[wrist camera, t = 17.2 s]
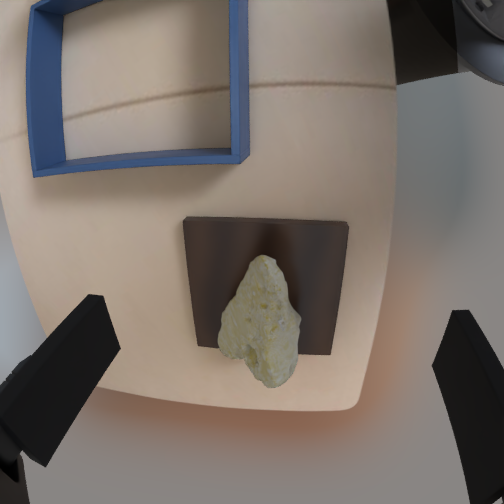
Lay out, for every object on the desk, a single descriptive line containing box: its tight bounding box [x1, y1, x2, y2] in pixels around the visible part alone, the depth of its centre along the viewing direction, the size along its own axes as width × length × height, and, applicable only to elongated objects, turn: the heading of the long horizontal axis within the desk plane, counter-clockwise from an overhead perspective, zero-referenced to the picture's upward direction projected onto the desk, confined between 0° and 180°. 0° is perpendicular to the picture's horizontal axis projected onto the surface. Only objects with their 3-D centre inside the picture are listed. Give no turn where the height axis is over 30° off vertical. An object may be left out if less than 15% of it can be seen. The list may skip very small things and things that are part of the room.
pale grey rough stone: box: [218, 255, 301, 388], centre depth 35 cm, size 15×7×15 cm
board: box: [183, 217, 349, 355], centre depth 38 cm, size 18×18×2 cm
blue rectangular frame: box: [26, 0, 250, 178], centre depth 27 cm, size 25×22×6 cm
